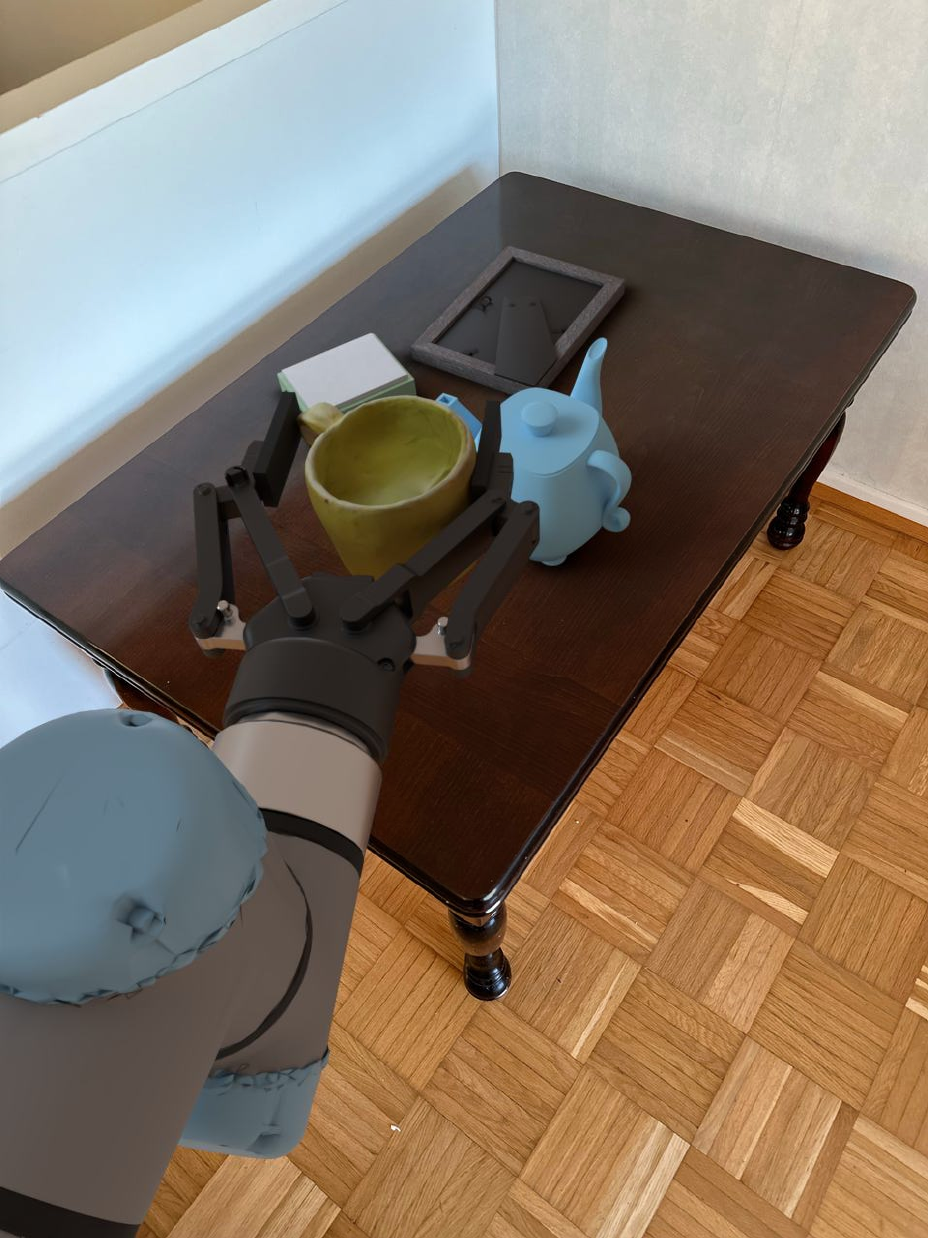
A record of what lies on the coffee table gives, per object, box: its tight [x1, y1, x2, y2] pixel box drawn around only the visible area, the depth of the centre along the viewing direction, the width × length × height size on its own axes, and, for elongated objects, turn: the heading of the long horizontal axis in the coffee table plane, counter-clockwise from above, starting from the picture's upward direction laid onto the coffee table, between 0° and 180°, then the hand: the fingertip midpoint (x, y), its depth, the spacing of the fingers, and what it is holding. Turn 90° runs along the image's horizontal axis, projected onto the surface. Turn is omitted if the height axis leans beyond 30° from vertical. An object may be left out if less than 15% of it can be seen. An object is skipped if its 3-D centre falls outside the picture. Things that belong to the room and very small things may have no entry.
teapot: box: [434, 337, 632, 567], centre depth 69 cm, size 15×14×11 cm
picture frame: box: [410, 245, 626, 396], centre depth 87 cm, size 13×2×18 cm
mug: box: [296, 395, 478, 591], centre depth 52 cm, size 12×10×10 cm
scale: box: [276, 332, 418, 415], centre depth 82 cm, size 10×8×3 cm
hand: (392, 413), depth 53 cm, fingers closed on mug, 11 cm apart
